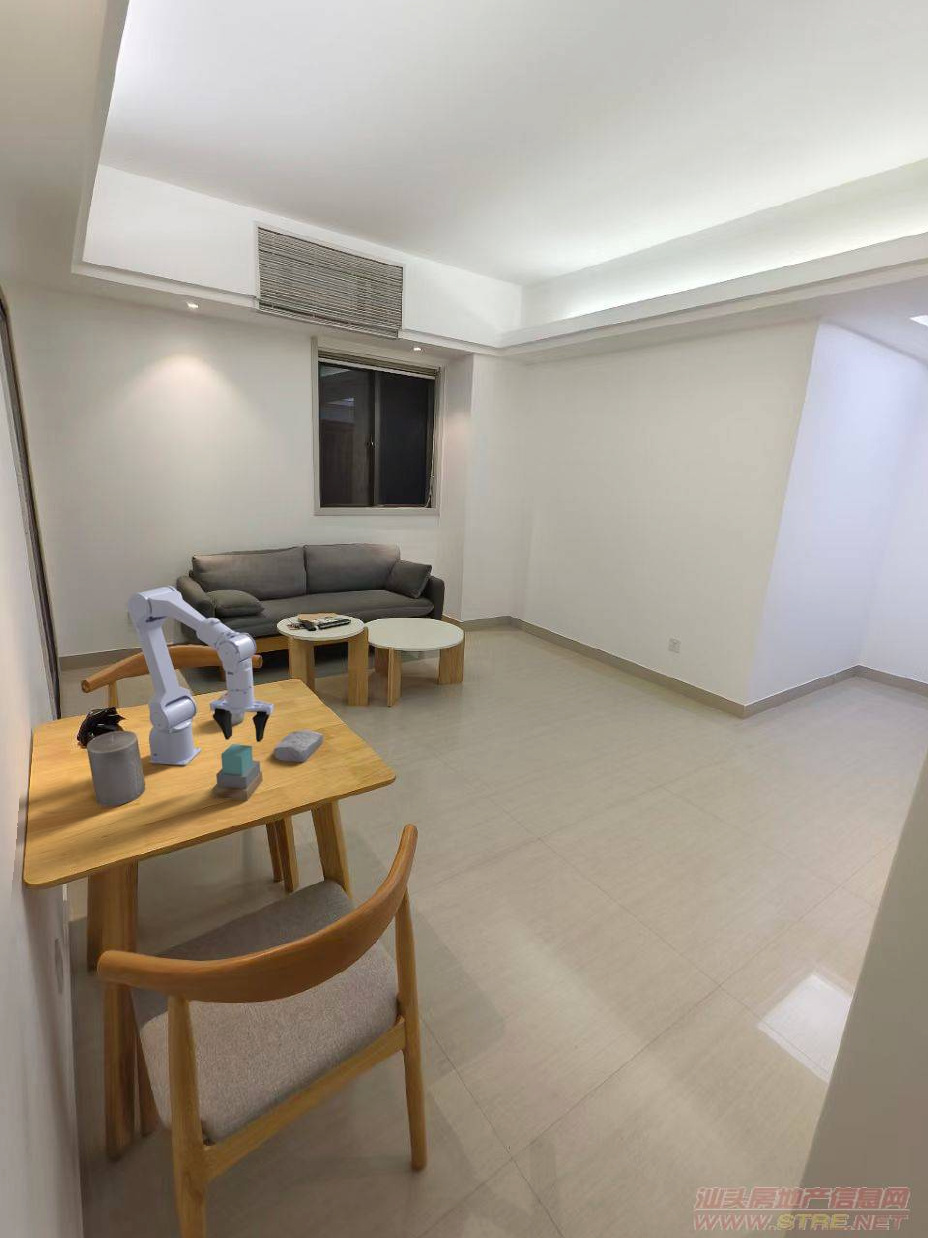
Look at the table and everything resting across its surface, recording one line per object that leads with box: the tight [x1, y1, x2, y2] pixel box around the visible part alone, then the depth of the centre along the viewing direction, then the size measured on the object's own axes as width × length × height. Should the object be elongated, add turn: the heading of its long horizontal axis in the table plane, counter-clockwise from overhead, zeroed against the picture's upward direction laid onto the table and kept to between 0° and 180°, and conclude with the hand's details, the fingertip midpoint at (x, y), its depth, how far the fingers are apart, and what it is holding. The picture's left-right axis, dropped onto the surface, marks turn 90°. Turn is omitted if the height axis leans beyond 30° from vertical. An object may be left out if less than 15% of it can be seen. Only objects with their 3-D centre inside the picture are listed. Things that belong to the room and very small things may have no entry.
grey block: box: [215, 759, 261, 789], centre depth 130 cm, size 7×7×3 cm
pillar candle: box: [86, 730, 146, 807], centre depth 125 cm, size 10×10×15 cm
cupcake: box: [217, 692, 246, 726], centre depth 161 cm, size 9×9×10 cm
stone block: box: [273, 729, 324, 763], centre depth 148 cm, size 12×5×10 cm
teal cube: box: [220, 743, 254, 775], centre depth 128 cm, size 5×5×5 cm
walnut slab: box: [212, 771, 263, 801], centre depth 130 cm, size 8×8×3 cm
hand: (244, 738), depth 132 cm, fingers open, 7 cm apart
